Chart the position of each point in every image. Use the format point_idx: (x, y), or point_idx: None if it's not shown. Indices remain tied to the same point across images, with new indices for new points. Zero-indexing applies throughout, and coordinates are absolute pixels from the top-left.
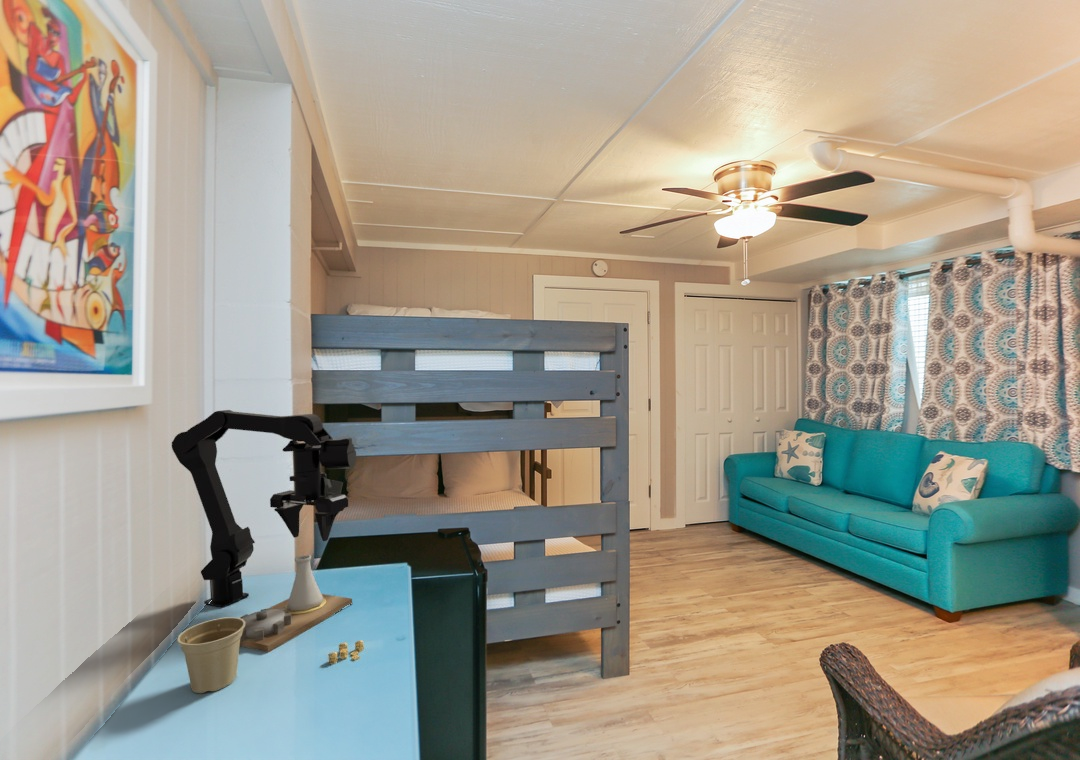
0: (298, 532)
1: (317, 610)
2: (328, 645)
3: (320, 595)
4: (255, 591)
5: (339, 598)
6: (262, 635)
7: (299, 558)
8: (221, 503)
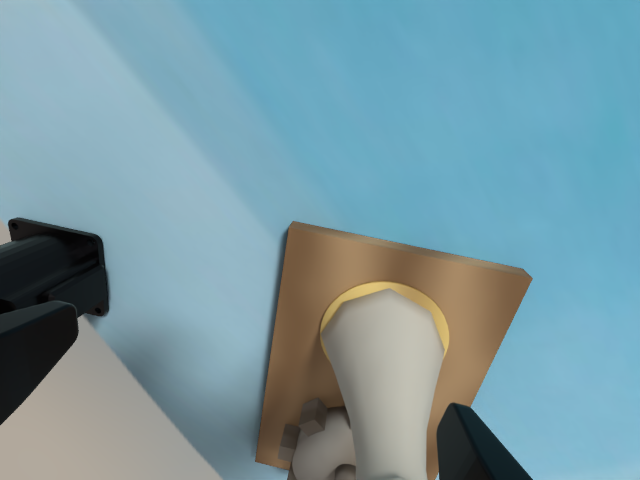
0: (39, 322)
1: (444, 362)
2: (555, 471)
3: (433, 339)
4: (82, 195)
5: (477, 279)
6: None
7: None
8: None
